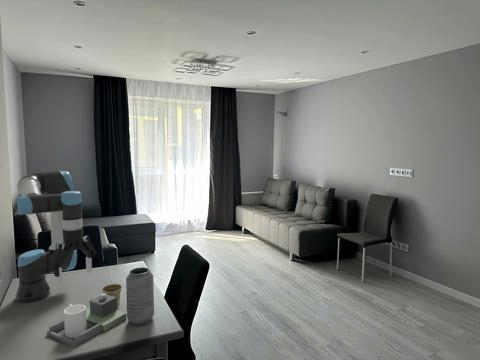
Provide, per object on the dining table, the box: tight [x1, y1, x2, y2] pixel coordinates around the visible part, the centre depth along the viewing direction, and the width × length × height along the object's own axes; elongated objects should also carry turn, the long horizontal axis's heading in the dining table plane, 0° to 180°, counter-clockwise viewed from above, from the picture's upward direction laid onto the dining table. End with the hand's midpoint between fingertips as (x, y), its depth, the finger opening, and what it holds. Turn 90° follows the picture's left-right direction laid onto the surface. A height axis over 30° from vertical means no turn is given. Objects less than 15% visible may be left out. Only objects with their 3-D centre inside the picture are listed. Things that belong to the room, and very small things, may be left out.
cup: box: [63, 303, 88, 339], centre depth 137 cm, size 8×12×10 cm
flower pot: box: [101, 283, 123, 307], centre depth 159 cm, size 9×9×9 cm
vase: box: [125, 266, 155, 326], centre depth 144 cm, size 12×12×23 cm
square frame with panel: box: [46, 292, 127, 347], centre depth 140 cm, size 20×25×10 cm
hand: (74, 277), depth 137 cm, fingers open, 13 cm apart
